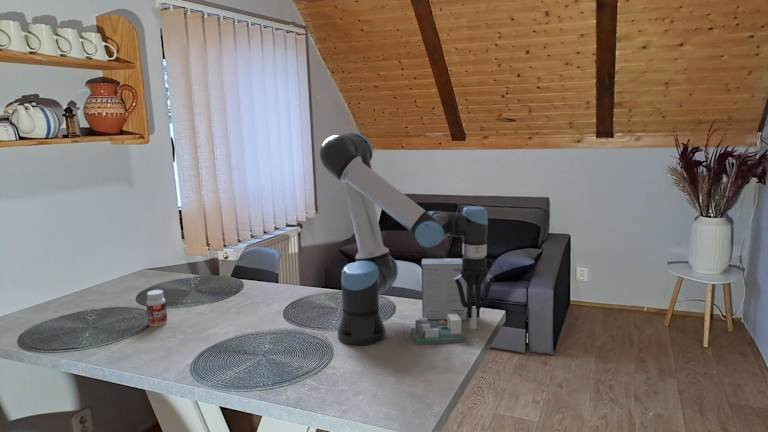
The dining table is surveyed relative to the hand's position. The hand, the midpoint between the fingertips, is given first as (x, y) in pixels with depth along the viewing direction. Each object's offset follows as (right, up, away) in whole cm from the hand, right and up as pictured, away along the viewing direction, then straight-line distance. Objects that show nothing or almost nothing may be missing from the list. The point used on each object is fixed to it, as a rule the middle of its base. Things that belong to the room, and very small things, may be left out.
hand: (472, 326), depth 175 cm
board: (-12, -3, -1) cm, 12 cm away
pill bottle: (-107, -2, +14) cm, 108 cm away
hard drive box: (-7, 0, +16) cm, 18 cm away
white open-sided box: (-6, -1, -1) cm, 6 cm away
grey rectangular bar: (-14, +1, -2) cm, 14 cm away
